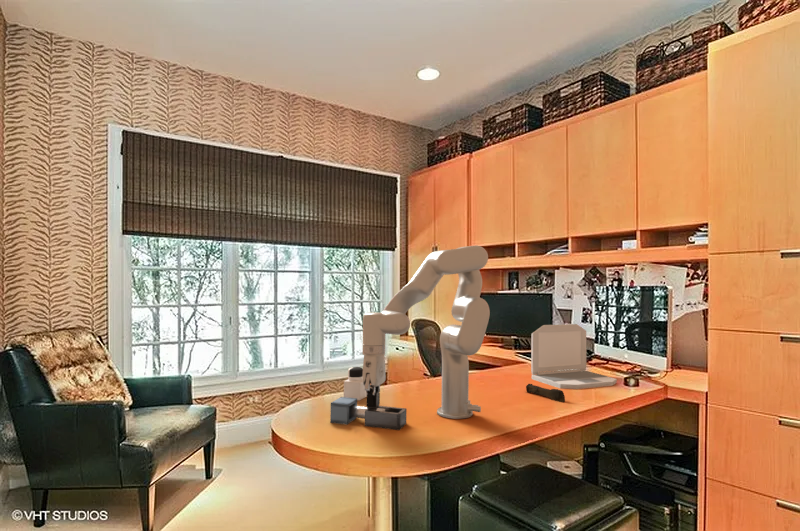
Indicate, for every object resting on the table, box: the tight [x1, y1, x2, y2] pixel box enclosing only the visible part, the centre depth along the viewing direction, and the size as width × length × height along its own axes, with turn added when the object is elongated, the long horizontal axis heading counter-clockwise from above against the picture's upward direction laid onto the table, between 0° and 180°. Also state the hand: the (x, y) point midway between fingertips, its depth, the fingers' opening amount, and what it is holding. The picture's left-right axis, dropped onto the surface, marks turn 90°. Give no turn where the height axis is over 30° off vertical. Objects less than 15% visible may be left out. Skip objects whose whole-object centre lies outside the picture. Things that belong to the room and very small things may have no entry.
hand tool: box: [525, 383, 566, 403], centre depth 189 cm, size 19×4×5 cm, turn 28°
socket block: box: [329, 396, 358, 425], centre depth 155 cm, size 6×8×6 cm
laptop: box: [530, 323, 618, 390], centre depth 219 cm, size 33×24×26 cm
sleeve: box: [364, 405, 407, 431], centre depth 151 cm, size 12×7×5 cm, turn 72°
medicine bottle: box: [343, 366, 367, 401], centre depth 184 cm, size 7×7×12 cm
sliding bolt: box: [349, 391, 386, 420], centre depth 153 cm, size 14×4×9 cm, turn 72°
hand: (373, 405), depth 152 cm, fingers closed on sliding bolt, 2 cm apart
